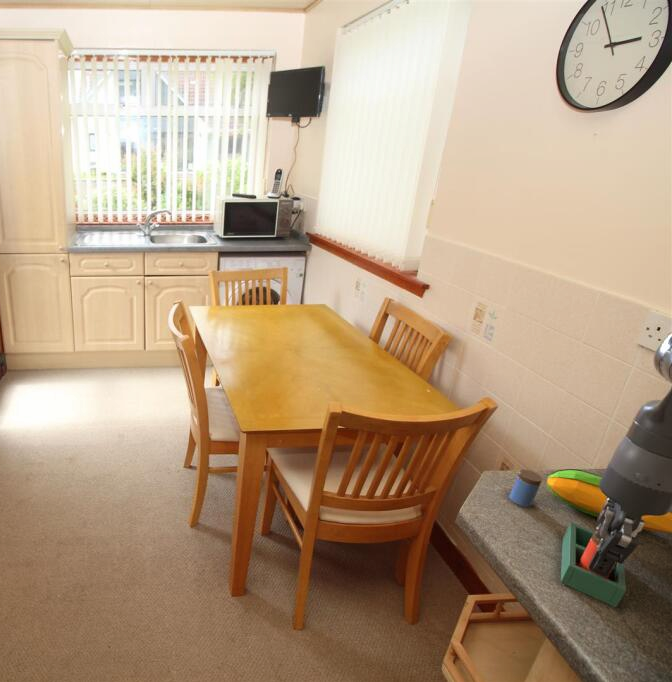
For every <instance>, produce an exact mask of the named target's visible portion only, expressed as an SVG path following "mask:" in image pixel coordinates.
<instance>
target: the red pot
mask: <svg viewBox="0 0 672 682" xmlns="http://www.w3.org/2000/svg"><path fill="white" fill-rule="evenodd" d="M601 538H602V537H601V536H600V533H599V531H596V530H594V533H593V535H592V537H591V539H590V541H589V543H588V545H587V547H586V549H585V551H584V553H583V555H582V557H581V559H580V560H579V564H580V566H581V567H582V568H583V569H585V570H588V571H590V572H592V573H595V574H597V575H599V576H601V577H604V578H608V577H609V575H610V573H611V571H612V570H613V568H614V566H615V564H616V562H615V563H614V565H613V567H612V569H611V571H610V572H609V574H608V575H607V576H603V575H600V574H598V573H596V572H593V571H591V570H590V569H589V563H590V561H591V559H592V557H593V555H594V554H595V552H596V550H597V545H599V542H600V540H601Z"/></svg>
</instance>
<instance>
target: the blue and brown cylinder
mask: <svg viewBox="0 0 672 682" xmlns="http://www.w3.org/2000/svg"><path fill="white" fill-rule="evenodd" d="M542 483H543V477H542V476H541V475H540V474H538V473H537V472H535V471H533V470H530V469H524V468H523V469H520V470H519V471H518V474H517V476H516V479H515V481H514V483H513V486H512V488H511V490H510V493H509V495H508V497H509V499H510V500H511V501H512V502H513V503H515V504H516V505H519V506H521V507H525V508H530V507H532V505H533V503H534V500H535V498H536V496H537V494H538V492H539V489H540V487H541V484H542Z"/></svg>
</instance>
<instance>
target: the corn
mask: <svg viewBox="0 0 672 682" xmlns="http://www.w3.org/2000/svg"><path fill="white" fill-rule="evenodd" d="M601 478H602V476H601V475H599V474H596V473H593V472H589V471H586V470H582V469H575V468H567V469H557V470H556V471H554V472H551V473H550V474H548V476H547V479H546V485H547V488H548V489H549V491H550V492H551V494H553V495H554V496H555V497H556V498H558V499H559V500H560V501H562V502H563V503H565V504H566V505H568V506H571V507H573V508H574V509H576V510H578V511H580V512H582V513H584V514H588V515H589V516H592V517H595V518H598V517H599V515H600V513H601V510H602V508H603V505H604V503H605V500H606V498H607V496H606V495H604V493H603V492H602V491H601V490H600V487H599V482H600V480H601ZM642 520H645V523H644V526H643V528H642V530H646V531H649V532H658V533H663V534H664V533H666V534H672V512H670V511H669V512H668V513H667V514H665V515H662V516H652V515H646V516H642Z"/></svg>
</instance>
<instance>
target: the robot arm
mask: <svg viewBox="0 0 672 682" xmlns="http://www.w3.org/2000/svg"><path fill="white" fill-rule="evenodd" d="M652 363H653V367H654V369H655V370H656V372H657V373H658V374H659V375H660V376H661V377H662V378H664V379H665V380H666V381H667V382H668V383H670V384H671V387H670V389H669V390H668V392H667V393H666V394H665V396H664V397H663V398H662V399H651V400H648V401H646V402H644V403H643V404H642V405H641V406H640V407H639V409H638V411H637V412H636V414H635V416H634V417H633V419H632V421H631V422H630V425H629V427H628V429H627V431H626V433H625V435H624V437H623V438H622V439H621V441H620V442H619V443H618V445H617V446H616V448H615V450H614V452H613V454H612V456H611V458H610V460H609V462H608V464H607V466H606V468H605V470H604V473H603V475H602V476H601V477H602V478H601V480H600V482H599V487H600V490H601V491H602V492H603V493H604V495H606V496H607V498H606V500H605V503H604V505H603V508H602V510H601V513H600V515H599V517H596V518H597V519H596V521H597V524H598V525H597V526H596V527H595V531H599V533H600V536H601V537H602V538H601V540H600V542H599V545H597V550H596V552H595V554H594V555H593V557H592V559H591V561H590V563H589V569H590V570H591V571H593V572H596V573H598V574H600V575H603V576H607V575H608V574H609V572H610V571H611V569H612V567H613V565H614V563H615V562H618V563H620V564H622V563H623V564H624V563H625V561H626V560H627V559H628V558H629V556H630V555H631V554H632V553H633V552H634V551H635V549H637V547H638V546H639V545H640V539H639V538H637V537H636V536H637V535H638V534H639V533H640V532H642V530H643V529H642V528H643V526H644V523H645V520H642V516H646V515H652V516H662V515H665V514H667V513H668V512H670V511H671V509H672V332H671V333H670V334H668V336H666V338H664V339H663V340H662V341H661V343H660V344H659V346H657V348H656V350H655V352H654V355H653V361H652Z"/></svg>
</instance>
